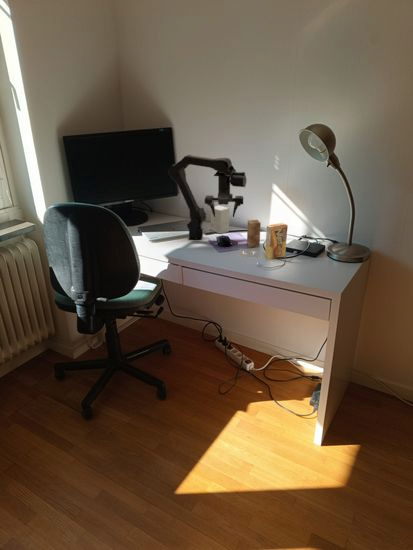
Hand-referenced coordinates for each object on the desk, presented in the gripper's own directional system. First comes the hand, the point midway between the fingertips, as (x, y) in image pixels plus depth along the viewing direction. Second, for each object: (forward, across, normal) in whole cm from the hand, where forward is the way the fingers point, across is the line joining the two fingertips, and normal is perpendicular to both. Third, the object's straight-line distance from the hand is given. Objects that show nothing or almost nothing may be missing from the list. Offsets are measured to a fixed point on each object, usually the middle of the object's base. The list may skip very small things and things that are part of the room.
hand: (224, 216), depth 207 cm
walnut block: (+13, +15, -5) cm, 20 cm away
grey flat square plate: (+13, +13, -15) cm, 24 cm away
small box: (+13, -3, +16) cm, 21 cm away
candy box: (+13, +25, -18) cm, 34 cm away
